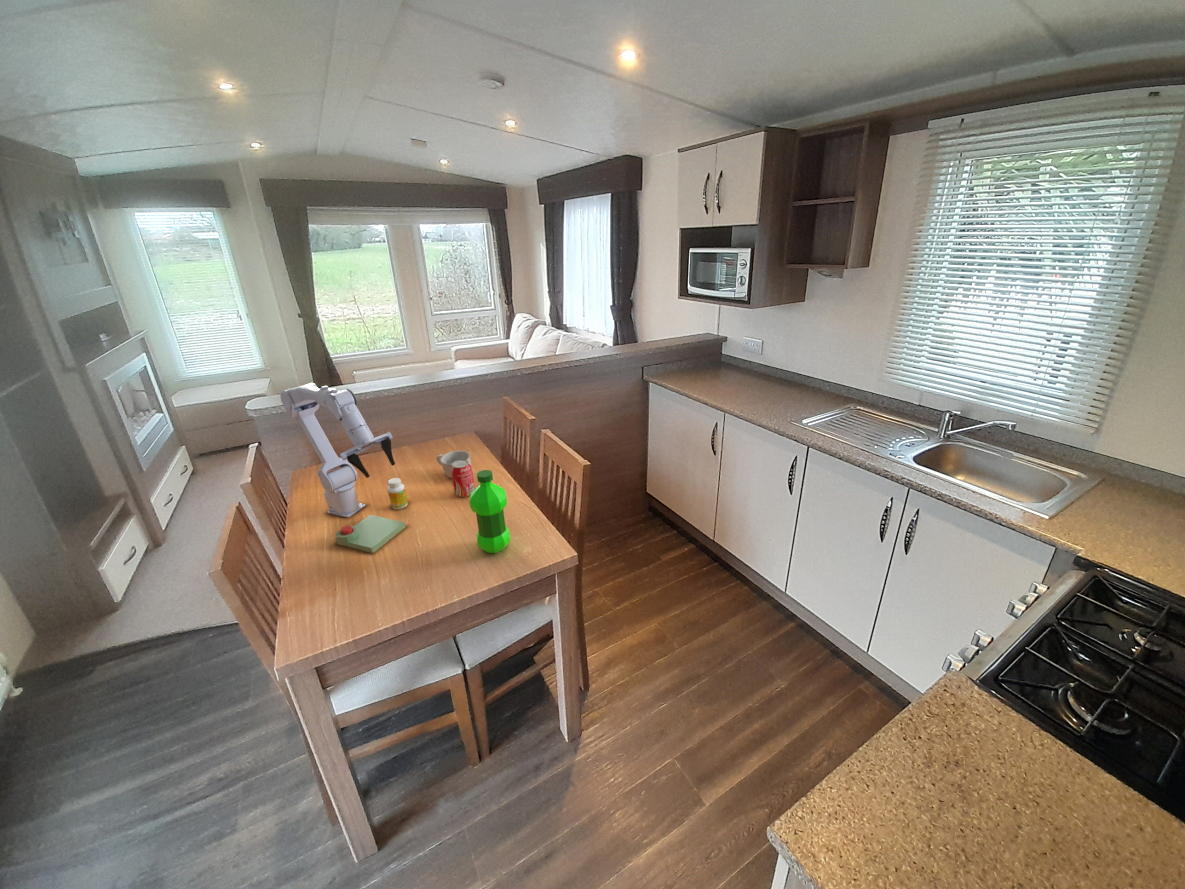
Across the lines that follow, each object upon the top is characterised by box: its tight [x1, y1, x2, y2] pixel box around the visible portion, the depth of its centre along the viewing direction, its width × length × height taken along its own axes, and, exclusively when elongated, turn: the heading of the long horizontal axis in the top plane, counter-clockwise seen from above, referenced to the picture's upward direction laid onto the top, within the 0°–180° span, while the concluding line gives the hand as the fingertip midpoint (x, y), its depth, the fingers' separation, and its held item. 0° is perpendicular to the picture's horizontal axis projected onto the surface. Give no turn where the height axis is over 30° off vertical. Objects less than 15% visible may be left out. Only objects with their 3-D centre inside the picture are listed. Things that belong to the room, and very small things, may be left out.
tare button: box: [340, 525, 353, 535], centre depth 144 cm, size 3×3×2 cm
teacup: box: [436, 450, 472, 479], centre depth 182 cm, size 14×11×8 cm
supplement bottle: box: [387, 477, 409, 510], centre depth 162 cm, size 5×5×10 cm
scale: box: [335, 514, 406, 554], centre depth 147 cm, size 14×14×4 cm
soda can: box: [451, 460, 475, 498], centre depth 167 cm, size 7×7×12 cm
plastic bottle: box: [469, 469, 511, 554], centre depth 135 cm, size 10×10×25 cm
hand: (381, 470), depth 138 cm, fingers open, 7 cm apart
